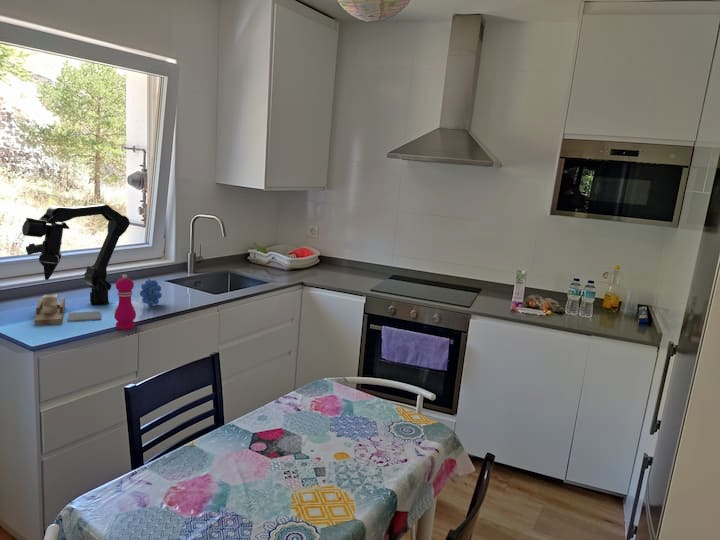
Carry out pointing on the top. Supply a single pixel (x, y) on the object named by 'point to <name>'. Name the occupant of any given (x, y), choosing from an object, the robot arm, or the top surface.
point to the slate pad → (84, 316)
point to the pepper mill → (125, 304)
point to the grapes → (150, 292)
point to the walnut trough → (49, 314)
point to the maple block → (50, 304)
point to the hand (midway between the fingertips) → (47, 278)
